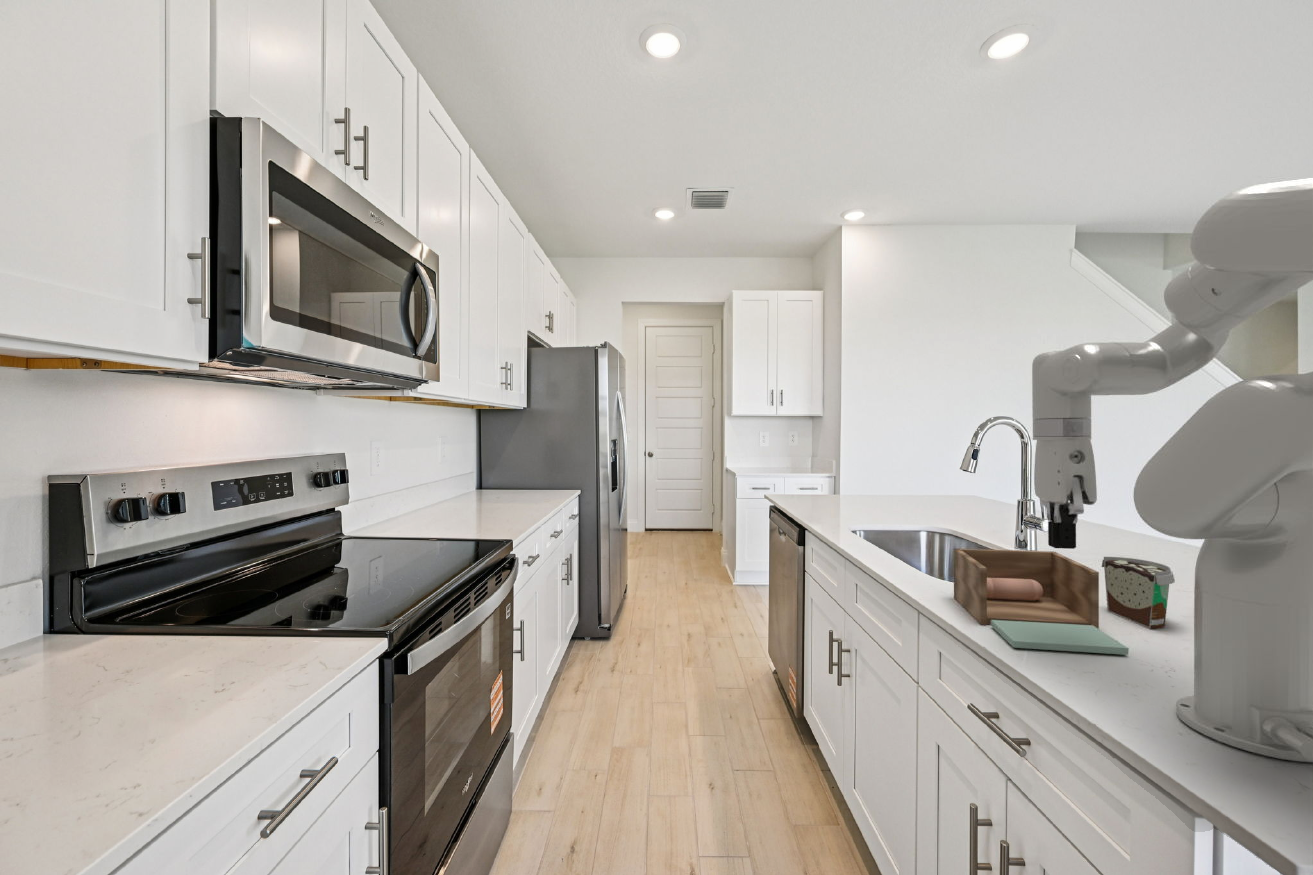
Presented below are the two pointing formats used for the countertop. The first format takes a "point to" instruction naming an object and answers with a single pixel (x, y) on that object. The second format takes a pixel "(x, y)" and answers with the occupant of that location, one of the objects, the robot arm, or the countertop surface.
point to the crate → (1060, 577)
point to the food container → (1137, 590)
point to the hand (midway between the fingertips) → (1062, 547)
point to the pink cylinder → (1013, 589)
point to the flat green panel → (1058, 637)
